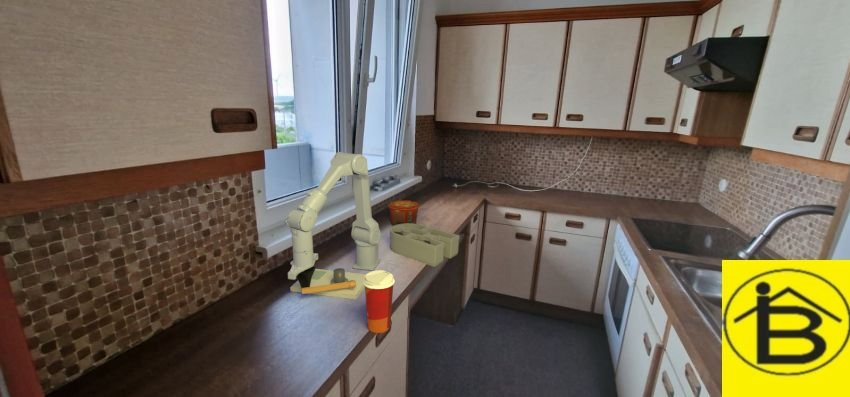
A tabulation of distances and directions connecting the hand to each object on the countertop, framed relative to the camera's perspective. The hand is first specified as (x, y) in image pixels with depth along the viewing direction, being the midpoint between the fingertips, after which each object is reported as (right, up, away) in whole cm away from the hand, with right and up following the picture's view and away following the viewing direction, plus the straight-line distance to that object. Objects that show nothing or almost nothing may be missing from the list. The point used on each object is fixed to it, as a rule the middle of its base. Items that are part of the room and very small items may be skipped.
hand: (305, 290), depth 109 cm
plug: (+9, -1, +8) cm, 12 cm away
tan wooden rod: (+7, 0, +1) cm, 7 cm away
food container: (+26, +15, +74) cm, 79 cm away
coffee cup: (+24, -7, -13) cm, 28 cm away
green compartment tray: (+35, +6, +39) cm, 52 cm away
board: (+6, -1, +9) cm, 11 cm away
